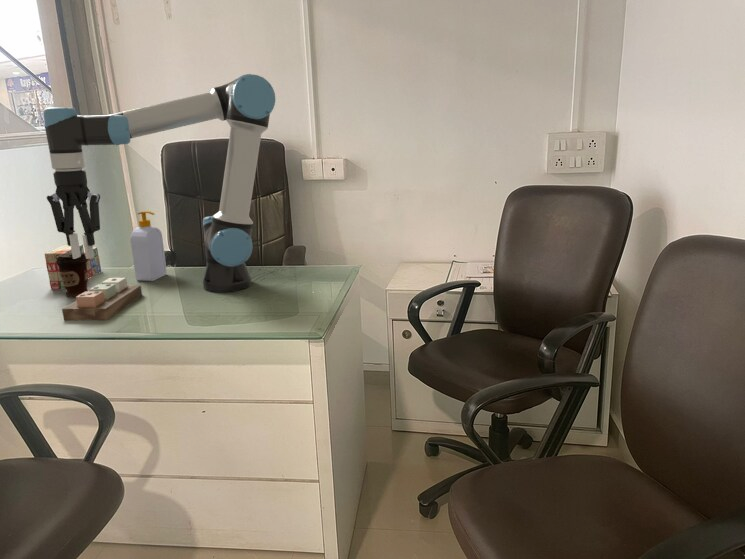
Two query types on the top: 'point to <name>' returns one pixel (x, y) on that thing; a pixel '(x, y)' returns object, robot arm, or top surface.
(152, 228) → the soap bottle
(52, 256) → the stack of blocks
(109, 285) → the tile two
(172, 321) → the top surface
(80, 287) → the coffee cup
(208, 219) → the robot arm
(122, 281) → the tile one
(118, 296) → the brown flat block
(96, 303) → the tile three
